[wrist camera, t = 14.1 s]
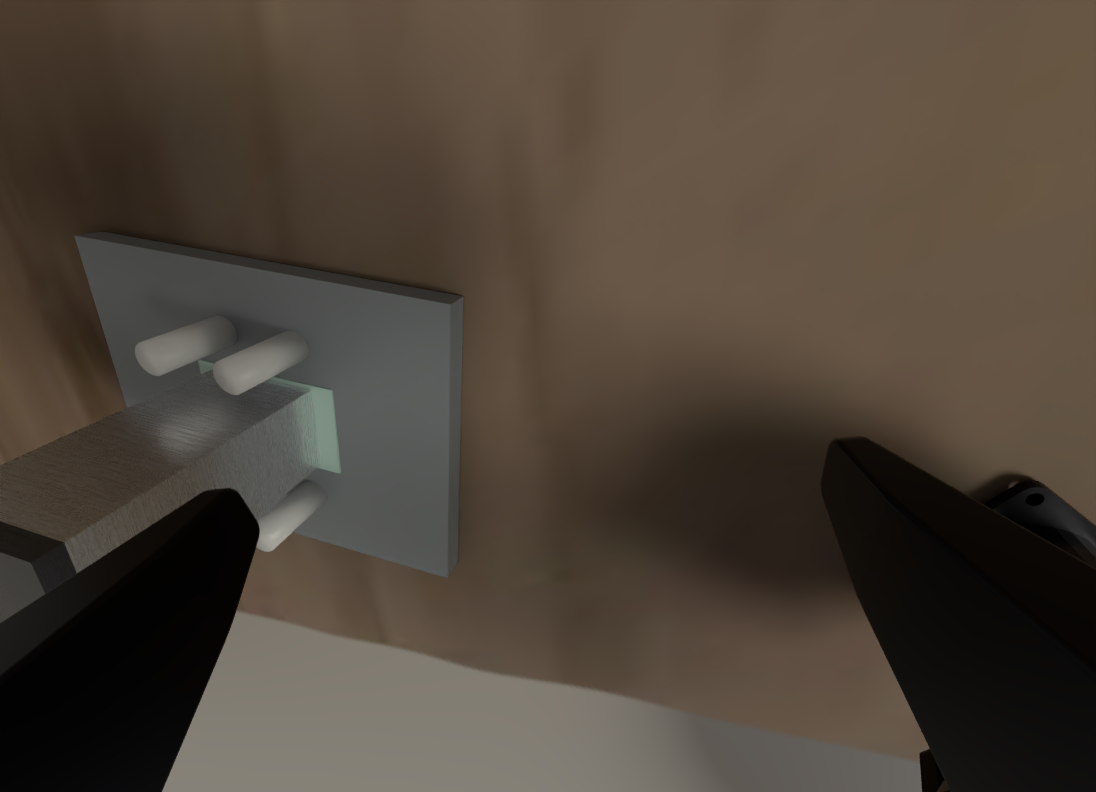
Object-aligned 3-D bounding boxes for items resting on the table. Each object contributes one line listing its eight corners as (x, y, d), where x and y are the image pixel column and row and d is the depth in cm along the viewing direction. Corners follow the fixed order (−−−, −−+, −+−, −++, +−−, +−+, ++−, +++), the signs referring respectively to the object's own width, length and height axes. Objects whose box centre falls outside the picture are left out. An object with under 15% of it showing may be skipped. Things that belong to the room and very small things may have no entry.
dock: (463, 296, 21) (403, 333, 17) (457, 561, 27) (412, 635, 23) (101, 231, 24) (-22, 249, 20) (171, 479, 31) (88, 530, 27)
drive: (311, 389, 23) (30, 563, 14) (320, 465, 25) (78, 664, 15) (216, 367, 24) (-108, 514, 15) (232, 441, 26) (-48, 614, 16)
